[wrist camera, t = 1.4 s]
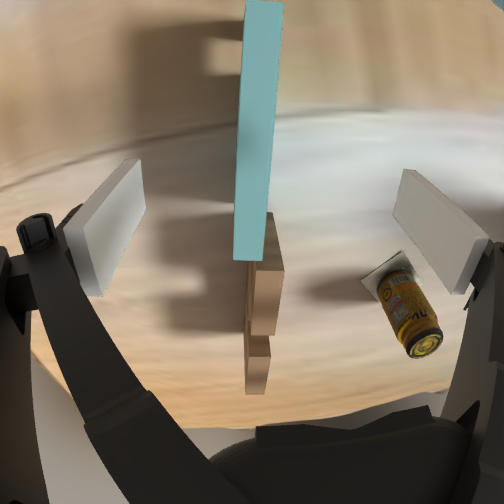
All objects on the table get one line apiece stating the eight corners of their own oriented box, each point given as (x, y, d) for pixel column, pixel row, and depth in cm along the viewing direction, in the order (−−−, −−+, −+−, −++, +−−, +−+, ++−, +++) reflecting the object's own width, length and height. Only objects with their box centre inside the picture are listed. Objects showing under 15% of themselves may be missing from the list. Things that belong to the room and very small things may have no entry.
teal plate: (243, 20, 25) (246, -1, 15) (268, 22, 25) (283, 2, 16) (234, 203, 36) (233, 260, 27) (255, 203, 36) (262, 260, 27)
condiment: (384, 309, 46) (411, 370, 36) (359, 280, 43) (388, 345, 33) (422, 283, 44) (457, 340, 34) (402, 249, 40) (441, 309, 30)
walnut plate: (251, 211, 36) (256, 270, 27) (272, 212, 36) (284, 271, 27) (243, 332, 47) (245, 394, 38) (259, 332, 48) (264, 394, 38)
